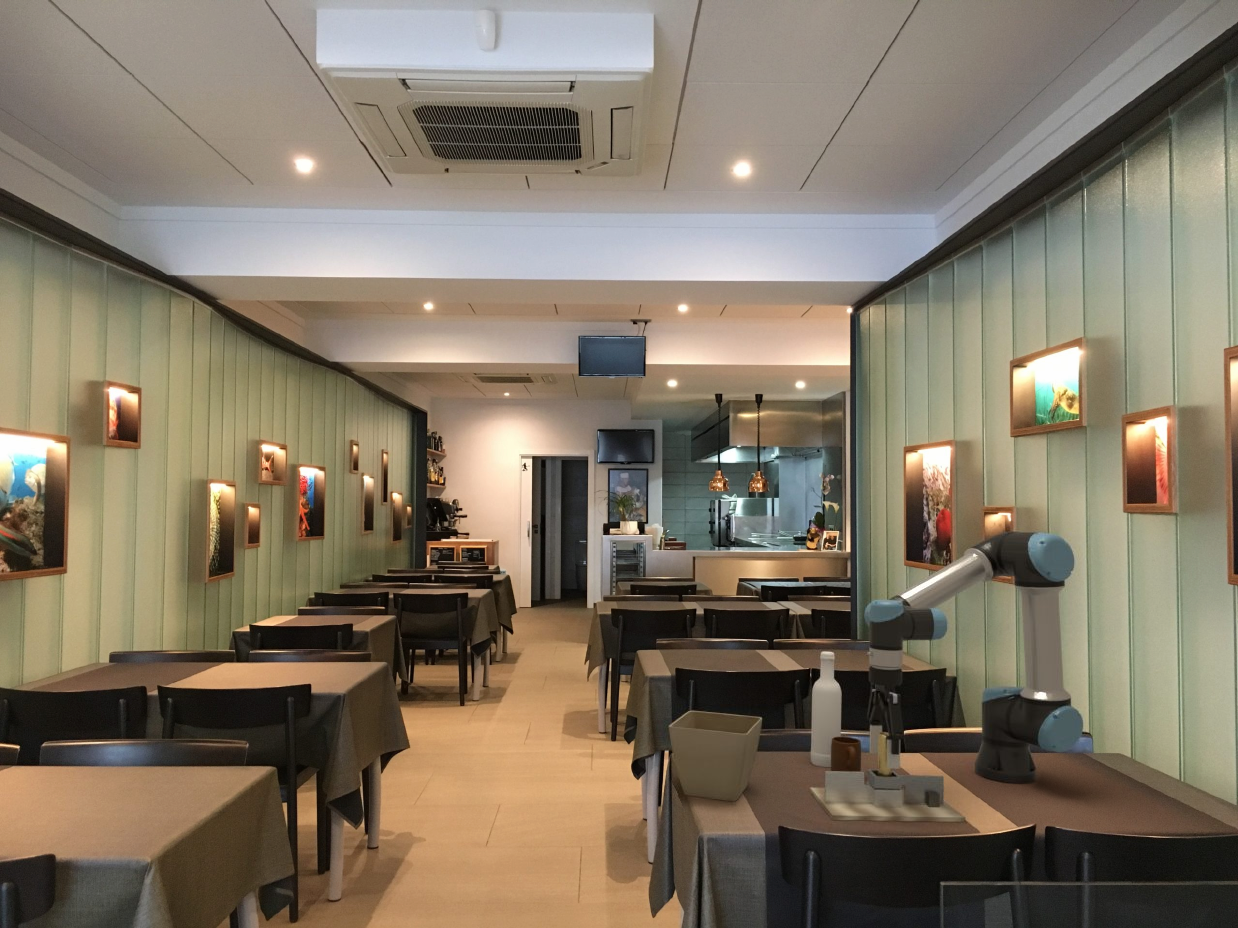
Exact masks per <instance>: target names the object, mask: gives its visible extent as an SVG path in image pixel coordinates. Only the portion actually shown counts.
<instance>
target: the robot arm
mask: <svg viewBox="0 0 1238 928" xmlns="http://www.w3.org/2000/svg"><path fill="white" fill-rule="evenodd" d="M1074 569H1075V555H1074V551H1073V549H1072V547H1071V545H1070V544H1069V543H1068V542H1067V541H1066V540H1065V539H1064V538H1063V537H1062V536H1060V535H1058V534H1055V533H1047V532H1041V531H1039V532H1035V531H1034V532H1031V531H1030V532H1028V531H1005V532H1001V533H1000V532H999V533H998V534H995V535H993V536H990V537H989V538H986V539H983V540H981V541H980V542H978V543H976V544H974V545H973V546H971V547H969V548H968V549H966V550H965V551H964V552H963V556H961V557H959V558H958V559H957V560H954V561H953V562H951V563H949V564H948V565H946V566H945V567H942V568H940V569H939V570H937V571H936V572H934V573H931V574H930V575H928V576H927V577H926V578H924V579H922V580H920V581H918V582H917V583H915V584H914V585H911V586H910V587H908V588H906V589H904V590H903V591H901V592H899V593H898V594H896V595H894V596H892V597H890V598H889V599H874V600H873V601H871V602H870V603H868V605H867V606H866V608H865V610H864V614H863V616H864V620H865V623H866V625H867V626H868V627H869V631H868V633H869V634H868V635H869V639H868V640H869V647H868V648H869V650H868V652H867V654H866V655H867V657H868V659H869V660H868V662H869V663H868V664H869V665H871V666H869V667H868V681H869V683H870V693H869V694H870V695H869V700H868V706H867V713H866V720H868V724H869V754H878V739H879V733H881V732H883V725H884V721H883V720H882V719H883V717H885V723H886V728H887V733H888V734H889V736H887V737H886V739H887V768H892V770H894V769H896V770H898V769H901V740H904V739H905V730H904V723H903V722H904V721H903V713H902V705H901V702H902V701H901V698H902V695H901V694H900V693H896V689H895V687H896V686H897V687H900V686H901V685H902V684H903V670H902V666H903V664H904V663H903V660H904V659H903V656H904V649H903V648H904V647H903V643H904V642H907V641H929V642H931V641H934V640H941V639H942V638H944V636H946V635H947V631H948V619H947V616H946V615H945V613H944V612H943V611H942V610H941V609H939V608H936V607H939V606H940V605H942V604H944V603H945V602H947V601H948V600H950V599H953V597H955V596H957V595H959V594H961V593H962V592H964V591H966V590H968V589H969V588H971V587H972V586H974V585H976V584H978V583H979V582H983V583H986V582H989V581H991V580H993V579H995V578H998V577H1005V576H1009V577H1013V583H1014V584H1013V585H1014V587H1015V588H1016V589H1017V590H1018V591H1019V592H1020V594H1021V610H1022V611H1021V613H1022V631H1023V650H1024V651H1023V653H1024V669H1025V687H1024V686H990V687H986V688H985V689H984V690H983V692H982V699H981V744H980V748H979V749H978V752H977V756H976V758H975V762H974V772H975V774H977V775H978V776H980V777H983V778H986V779H989V780H993V781H996V782H997V781H998V782H1001V783H1003V782H1004V783H1012V784H1013V783H1015V784H1025V783H1026V784H1027V783H1029V784H1030V783H1033V782H1036V781H1037V774H1038V773H1037V772H1038V771H1037V767H1036V764H1035V761H1034V758H1033V756H1032V752H1031V748H1030V745H1033V746H1036V747H1039V748H1041V749H1043V750H1046V751H1053V752H1056V753H1063V752H1067V751H1069V750H1071V749H1072V748H1074V747H1075V746H1076V744H1077V743H1078V742H1079V741H1080V739H1081V737H1082V735H1083V731H1084V720H1083V716H1082V714H1081V713H1080V712H1079V710H1078V709H1077V708H1075V707H1074V706H1072V696H1071V693H1070V692H1068V691H1067V690H1066V689H1065V687H1064V671H1063V670H1064V669H1063V651H1062V648H1063V647H1062V636H1061V635H1062V634H1061V615H1060V613H1061V612H1060V595H1059V594H1060V592H1061V591H1062V590H1063V589H1064V588H1065V587H1066V585H1065V584H1066V583H1065V582H1066V581H1065V580H1067V579H1069V578H1070V577H1071V575H1072V572H1073V571H1074Z"/></svg>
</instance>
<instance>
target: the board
mask: <svg viewBox="0 0 1238 928" xmlns="http://www.w3.org/2000/svg"><path fill="white" fill-rule="evenodd" d="M901 790H902V808H882V807H874V806H873V805H872V804H869V803H825V787H810V788H809V792H810V794H811V795H812V796H813V798H815V800H816V801H817V803H818V804H819V805H820V806H821V807H822V809H823V810H824V811H825V812H826V814H827V815H828V816H829V818H830V819H831V820H832V821H872V822H873V821H877V822H880V821H881V822H882V821H883V822H884V821H885V822H888V821H889V822H933V823H934V822H939V823H940V822H944V823H947V822H948V823H949V822H950V823H966V819H967V818H966V816H965V815H963V814H962V813H961V812H959V811H958V810H957V809H956V808H954V806H952V805H951V804H950V803H949V802H947V801H946V800H945V799H944V804H939V807H928V806H927V804H924V803H904V788H901Z"/></svg>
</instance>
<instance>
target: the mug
mask: <svg viewBox="0 0 1238 928" xmlns="http://www.w3.org/2000/svg"><path fill="white" fill-rule="evenodd" d="M830 771H846V772H862V742H861V740H860V739H858V738H855V737H851V736H841V737H834V738H832V743H831V767H830Z"/></svg>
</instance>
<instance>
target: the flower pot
mask: <svg viewBox="0 0 1238 928" xmlns="http://www.w3.org/2000/svg"><path fill="white" fill-rule="evenodd" d="M762 722H763V718H762V717H761V716H751V715H740V714H731V713H720V712H708V711H699V710H689V711H687V712H685V713H684V714H682V715H681V716H680V717H679V718H677V719H676V720H675V721H673V722H672V723H670V724H669V725H668V731H669V738H670V745H671V751H672V755H673V759H674V764H675V767H676V772H677V775H678V779H679V781H680V785H681V788H682V790H683V793H684V795H685V796H691V797H699V798H707V799H714V800H720V801H721V800H722V801H731V802H735V801H738V799H739V798H740V796H741V795H742V794H743V792H744V791H745V790H746V789H747V788H748V784H749V781H750V778H751V775H752V772H753V767H754V764H755V759H756V756H757V752H758V747H759V742H760V738H761V737H760V736H761V732H762V724H763V723H762Z"/></svg>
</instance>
